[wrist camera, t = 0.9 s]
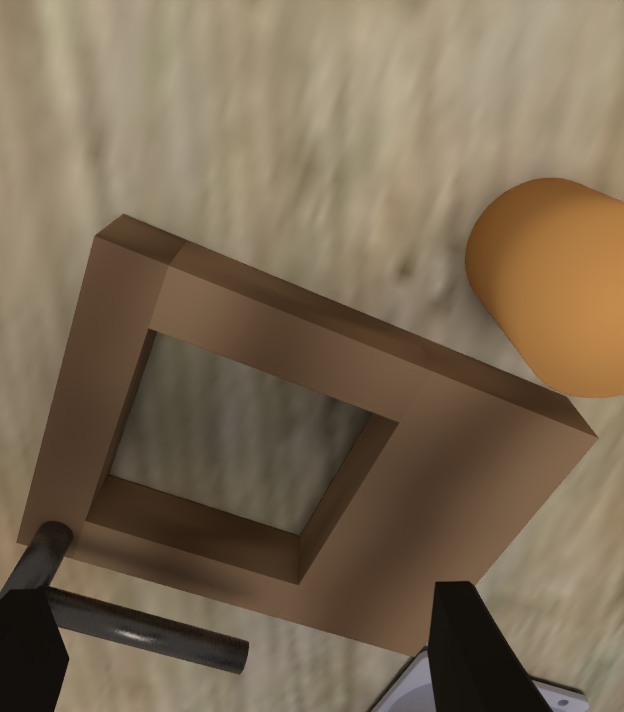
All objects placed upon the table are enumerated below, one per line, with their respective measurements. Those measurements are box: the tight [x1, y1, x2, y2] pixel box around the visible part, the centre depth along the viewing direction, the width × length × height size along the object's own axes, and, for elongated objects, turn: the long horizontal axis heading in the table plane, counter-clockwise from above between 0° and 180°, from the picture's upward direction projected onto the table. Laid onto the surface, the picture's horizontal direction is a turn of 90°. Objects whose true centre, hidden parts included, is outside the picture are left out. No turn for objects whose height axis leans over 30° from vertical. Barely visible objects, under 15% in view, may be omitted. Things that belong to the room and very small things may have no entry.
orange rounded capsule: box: [465, 178, 624, 398], centre depth 15 cm, size 4×4×5 cm
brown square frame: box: [16, 214, 598, 657], centre depth 19 cm, size 16×12×2 cm
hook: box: [0, 521, 249, 675], centre depth 19 cm, size 8×1×6 cm, turn 66°
